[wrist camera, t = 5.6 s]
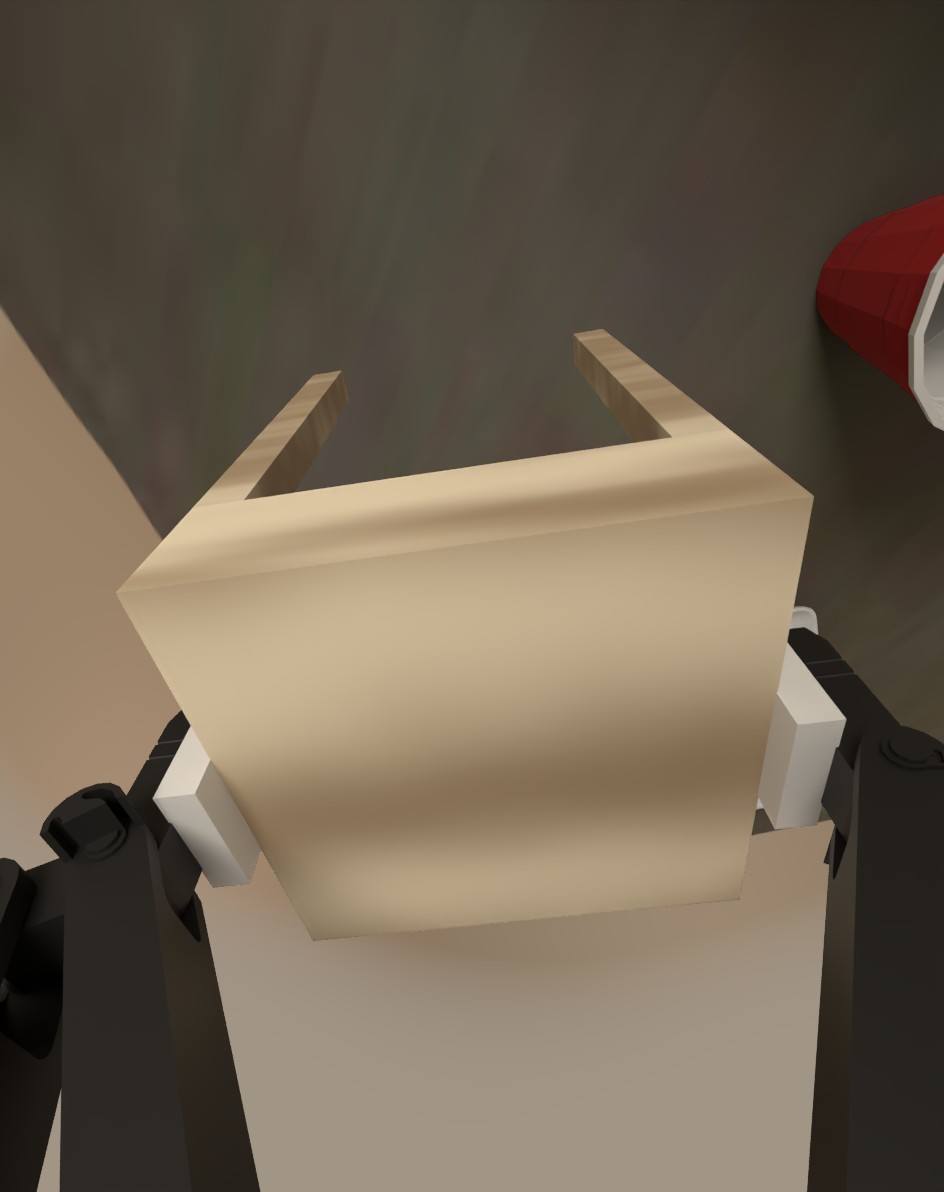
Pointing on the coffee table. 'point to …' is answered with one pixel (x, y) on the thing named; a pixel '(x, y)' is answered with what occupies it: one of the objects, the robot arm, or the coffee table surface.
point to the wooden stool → (488, 663)
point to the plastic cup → (893, 299)
